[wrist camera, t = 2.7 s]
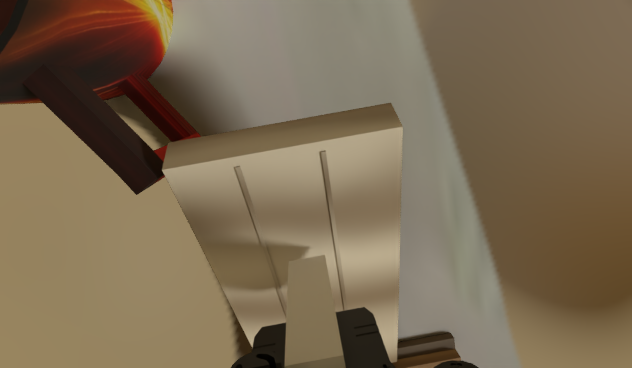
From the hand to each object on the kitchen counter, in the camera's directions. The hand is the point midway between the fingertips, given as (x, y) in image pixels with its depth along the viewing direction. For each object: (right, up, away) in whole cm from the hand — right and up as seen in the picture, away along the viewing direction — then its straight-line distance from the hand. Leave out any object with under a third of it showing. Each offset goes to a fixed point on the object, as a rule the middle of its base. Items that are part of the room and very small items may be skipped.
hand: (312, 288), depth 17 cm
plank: (0, 0, +4) cm, 4 cm away
